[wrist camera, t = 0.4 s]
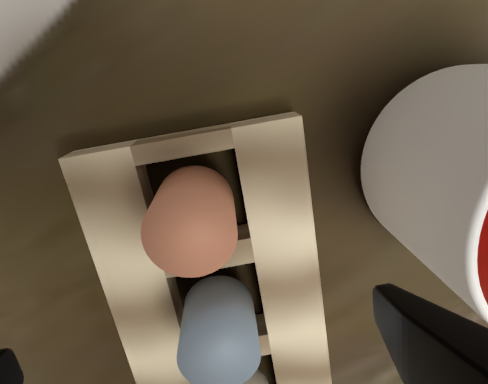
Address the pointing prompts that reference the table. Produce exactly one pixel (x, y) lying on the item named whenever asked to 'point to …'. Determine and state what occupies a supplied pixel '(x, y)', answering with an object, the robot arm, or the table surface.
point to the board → (247, 251)
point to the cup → (436, 176)
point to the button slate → (218, 333)
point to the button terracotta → (191, 223)
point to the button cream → (257, 378)
